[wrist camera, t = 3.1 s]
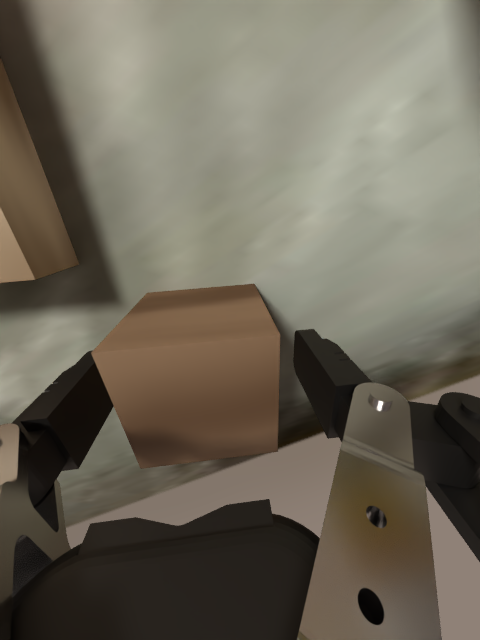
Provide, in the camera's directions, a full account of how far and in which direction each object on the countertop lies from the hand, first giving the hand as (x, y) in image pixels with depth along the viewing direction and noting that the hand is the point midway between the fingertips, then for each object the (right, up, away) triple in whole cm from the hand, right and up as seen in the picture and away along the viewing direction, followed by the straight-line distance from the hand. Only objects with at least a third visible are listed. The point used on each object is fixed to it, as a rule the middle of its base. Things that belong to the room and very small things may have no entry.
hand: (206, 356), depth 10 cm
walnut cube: (0, +1, +2) cm, 2 cm away
